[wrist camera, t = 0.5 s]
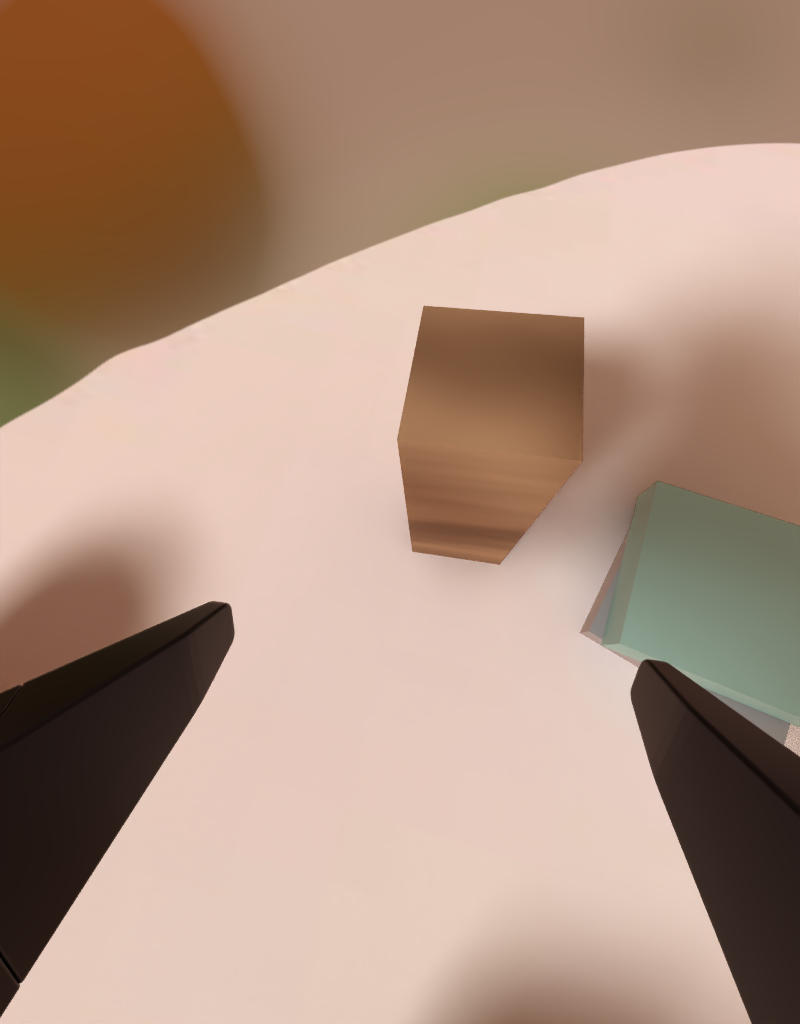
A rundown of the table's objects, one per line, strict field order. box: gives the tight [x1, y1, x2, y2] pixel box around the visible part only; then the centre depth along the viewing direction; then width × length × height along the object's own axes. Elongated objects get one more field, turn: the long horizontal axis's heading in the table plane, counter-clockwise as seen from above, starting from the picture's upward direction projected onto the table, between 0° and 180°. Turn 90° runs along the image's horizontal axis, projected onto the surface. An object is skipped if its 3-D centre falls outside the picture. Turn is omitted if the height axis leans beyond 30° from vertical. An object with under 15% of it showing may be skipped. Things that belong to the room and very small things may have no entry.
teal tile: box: [601, 481, 800, 727], centre depth 18 cm, size 9×9×2 cm
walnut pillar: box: [397, 306, 584, 564], centre depth 17 cm, size 5×5×12 cm
